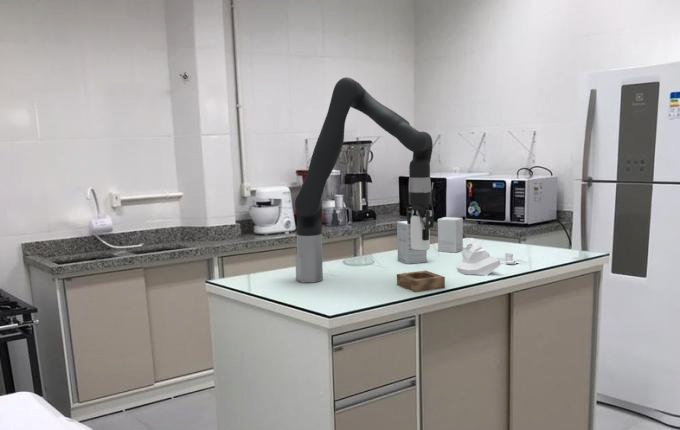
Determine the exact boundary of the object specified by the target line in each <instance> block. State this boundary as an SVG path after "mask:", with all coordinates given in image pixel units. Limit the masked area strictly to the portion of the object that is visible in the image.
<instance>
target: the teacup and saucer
mask: <svg viewBox="0 0 680 430" xmlns="http://www.w3.org/2000/svg"><path fill="white" fill-rule="evenodd" d="M513 258H514V253H512V252H506V253H504V260H506V261H505V265H508V264H513V265H516V262H514V261H515V260H514V259H513ZM501 261H502V260H500V263H501Z"/></svg>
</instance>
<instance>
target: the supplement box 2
mask: <svg viewBox="0 0 680 430" xmlns="http://www.w3.org/2000/svg"><path fill="white" fill-rule="evenodd" d="M463 222H464V221H463V217H455V216H454V217H449V216H444V217H441V218H438V219H437V248H438V249H437V252H441V253H442V252H443V253H444V252H445V253H455V254H456V253H458V252H462V250H464V241H463V239H464V236H463V235H464V233H463V231H464V230H463V229H464V227H463V226H464V225H463V224H464V223H463Z"/></svg>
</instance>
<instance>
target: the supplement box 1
mask: <svg viewBox="0 0 680 430" xmlns="http://www.w3.org/2000/svg"><path fill="white" fill-rule="evenodd" d="M396 226H397V227H396V232H397V234H396V235H397V237H396V238H397V242H396V243H397V244H396V245H397V261H398V262H400V263H404V264H407V265H412V264H420V263H421V264H423V263H427V252H428V250H423V251H417V250H412V249H411V226H410V224H407V220H402V221H396Z"/></svg>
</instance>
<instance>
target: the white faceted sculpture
mask: <svg viewBox="0 0 680 430" xmlns="http://www.w3.org/2000/svg"><path fill="white" fill-rule="evenodd" d="M461 255H462V262H461V263H460V264H459V265H457V266H456V270H457V272H458V273H461V274H464V275H479V276H485V275H487V276H488V275H489V274H491V273H492V272H494V270H496V269H498V268H499V267H500V266H501V265H502V264H501V263H500V261H501V260H500V259H497V258H496V257H495V258H494V257H491V256H490V253H489V252H488V251H487V250H485V248H483V246H482V245H480V244H479V243H478V239H476V238H473V237H471V238H470V239H469V240H468V243H467V244H466V246H465V248H463V250H461Z"/></svg>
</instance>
